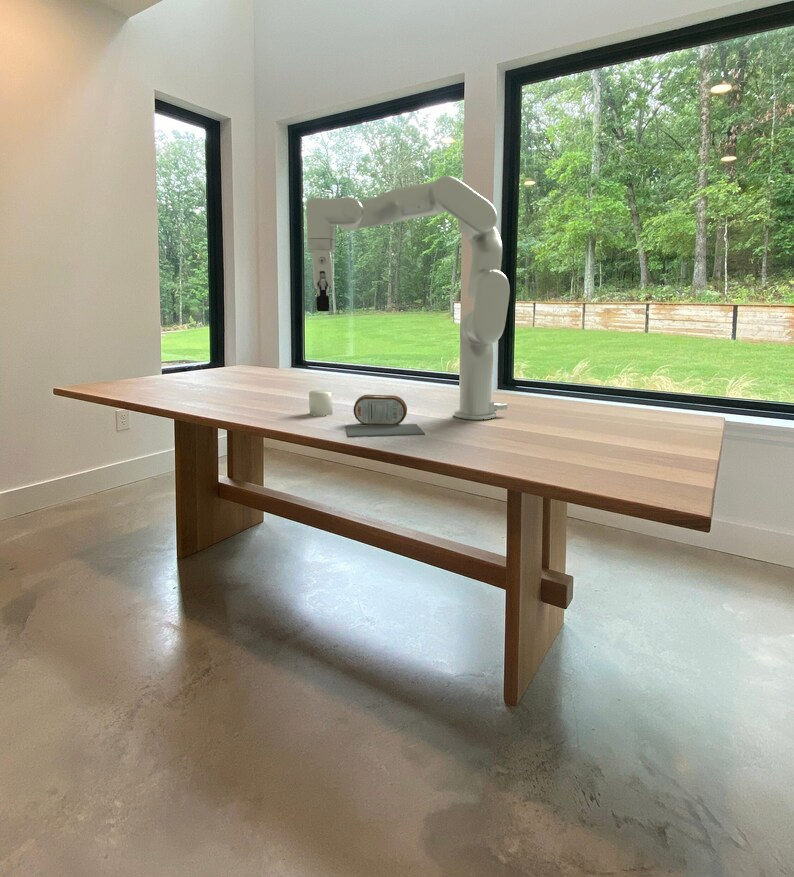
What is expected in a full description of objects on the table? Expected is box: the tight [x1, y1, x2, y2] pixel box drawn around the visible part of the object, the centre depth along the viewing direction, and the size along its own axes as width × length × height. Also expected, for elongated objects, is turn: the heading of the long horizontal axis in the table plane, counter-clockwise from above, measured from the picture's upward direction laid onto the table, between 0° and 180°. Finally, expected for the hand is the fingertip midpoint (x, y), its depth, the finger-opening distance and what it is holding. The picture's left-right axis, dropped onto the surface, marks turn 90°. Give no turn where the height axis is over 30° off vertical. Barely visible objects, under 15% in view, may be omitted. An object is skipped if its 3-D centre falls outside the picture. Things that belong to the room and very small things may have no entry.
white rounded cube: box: [308, 389, 334, 417], centre depth 181 cm, size 7×7×7 cm
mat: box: [344, 423, 426, 438], centre depth 158 cm, size 20×12×1 cm, turn 99°
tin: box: [353, 394, 408, 425], centre depth 166 cm, size 15×3×8 cm, turn 84°
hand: (322, 311), depth 165 cm, fingers open, 9 cm apart
